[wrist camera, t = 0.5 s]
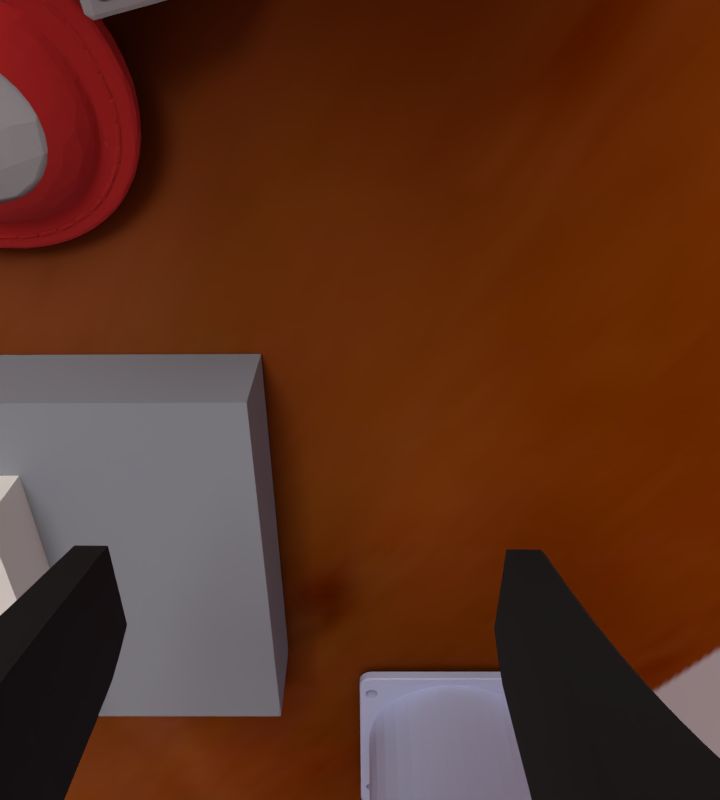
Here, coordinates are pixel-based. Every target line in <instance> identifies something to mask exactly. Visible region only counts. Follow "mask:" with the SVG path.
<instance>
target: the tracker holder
mask: <svg viewBox="0 0 720 800" xmlns="http://www.w3.org/2000/svg"><path fill="white" fill-rule="evenodd" d="M163 1H166V0H0V248H28V249H29V248H36V247H43V246H50V245H54V244H58V243H62V242H66V241H69V240H72V239H75V238H77V237H79V236H81V235H83V234H85V233H87V232H89V231H90V230H92V229H94V228H95V227H97V226H98V225H100V224H101V223H102V222H103V221H105V220H106V219H107V218H108V217H109V216H110V215H111V214H113V213H114V212H115V211H116V209H117V208H118V207H119V205H120V204H121V203H122V201H123V199H124V198H125V196H126V194H127V193H128V191H129V188H130V186H131V184H132V181H133V179H134V177H135V173H136V170H137V166H138V162H139V158H140V148H141V121H140V112H139V105H138V99H137V95H136V91H135V87H134V83H133V80H132V77H131V75H130V72H129V70H128V68H127V65H126V63H125V60H124V58H123V56H122V54H121V52H120V50H119V48H118V46H117V44H116V42H115V40H114V38H113V36H112V35H111V33H110V32H109V31H108V29H107V28H106V26H105V25H104V23H103V19H104V18H105V17H108V16H112V15H115V14H119V13H123V12H126V11H130V10H133V9H137V8H141V7H144V6H148V5H152V4H155V3H159V2H163Z"/></svg>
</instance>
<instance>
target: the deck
mask: <svg viewBox="0 0 720 800" xmlns="http://www.w3.org/2000/svg"><path fill="white" fill-rule="evenodd" d="M0 476H19V477H20V480H21V483H22V486H23V489H24V492H25V495H26V498H27V501H28V504H29V507H30V510H31V513H32V516H33V519H34V522H35V525H36V528H37V531H38V534H39V537H40V540H41V543H42V546H43V549H44V552H45V555H46V558H47V561H48V564H49V567H50V568H51V567H52V566H53V565H54V564H55V563H56V562H57V561H58V560H59V559H60V558H62V557H63V556H64V555H65V554H66V553H67V552H68V551H69V550H70V549H71V548H72V547H73V546H74V545H79V546H108V548H109V552H110V556H111V561H112V565H113V569H114V573H115V577H116V581H117V585H118V589H119V593H120V598H121V602H122V606H123V610H124V614H125V618H126V622H127V628H126V632H125V635H124V639H123V643H122V647H121V651H120V655H119V659H118V662H117V666H116V669H115V673H114V676H113V680H112V682H111V685H110V687H109V690H108V693H107V695H106V698H105V700H104V703H103V705H102V708H101V710H100V713H99V715H98V716H281V710H282V702H283V693H284V685H285V676H286V668H287V659H288V641H287V630H286V619H285V608H284V597H283V587H282V576H281V565H280V554H279V543H278V532H277V522H276V511H275V500H274V489H273V478H272V468H271V457H270V446H269V435H268V424H267V413H266V403H265V392H264V381H263V370H262V359H261V354H127V355H0Z"/></svg>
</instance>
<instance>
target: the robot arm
mask: <svg viewBox="0 0 720 800" xmlns="http://www.w3.org/2000/svg"><path fill="white" fill-rule="evenodd" d="M126 628H127V622H126V618H125V614H124V610H123V606H122V602H121V598H120V593H119V589H118V585H117V581H116V577H115V573H114V569H113V565H112V561H111V556H110V552H109V548H108V546H79V545H74V546H73V547H72V548H71V549H70V550H69V551H68V552H67V553H66V554H65V555H64V556H63V557H62V558H60V559H59V560H58V561H57V562H56V563H55V564H54V565H53V566H52V567H51V568H50V569H49V570H48V571H47V572H46V573H45V574H44V575H43V576H41V577H40V578H39V579H38V580H37V581H36V582H35V583H34V584H33V585H32V586H31V587H30V588H29V589H28V590H27V591H26V592H25V593H24V594H23V595H22V596H21V597H20V598H18V599H17V600H16V601H15V602H14V603H13V604H12V605H11V606H10V607H9V608H8V609H7V610H6V611H5V612H4V613H2V614H1V615H0V800H64V799H65V796H66V794H67V791H68V789H69V786H70V784H71V781H72V779H73V777H74V774H75V772H76V769H77V767H78V764H79V762H80V759H81V757H82V754H83V752H84V750H85V747H86V745H87V742H88V740H89V737H90V735H91V732H92V730H93V728H94V725H95V723H96V720H97V718H98V715H99V713H100V710H101V708H102V705H103V703H104V700H105V698H106V695H107V693H108V690H109V687H110V685H111V682H112V680H113V676H114V673H115V669H116V666H117V662H118V659H119V655H120V651H121V647H122V643H123V639H124V635H125V632H126ZM495 636H496V644H497V652H498V659H499V666H500V672H366V673H364V674H363V675H362V676H361V677H360V748H361V798H362V800H720V758H719V757H718V756H716V755H715V754H714V753H713V752H712V751H711V750H710V749H709V748H708V747H707V746H706V745H705V744H704V743H703V742H702V741H701V740H700V739H699V738H698V737H697V736H696V735H695V734H694V733H692V731H691V730H690V729H688V728H687V726H685V725H684V724H683V723H682V722H681V721H680V720H679V719H678V718H677V716H676V715H675V714H674V713H673V712H672V711H671V710H670V709H669V708H668V707H667V706H666V705H665V704H664V703H663V702H662V701H661V700H660V699H659V698H658V696H657V695H656V694H655V693H654V692H653V691H652V690H651V689H650V688H649V687H648V685H647V684H646V683H645V682H644V681H643V680H642V679H641V678H640V676H639V675H638V674H637V673H636V672H635V671H634V670H633V669H632V667H631V666H630V665H629V664H628V663H627V662H626V660H625V659H624V658H623V657H622V656H621V654H620V653H619V652H618V651H617V650H616V648H615V647H614V646H613V645H612V643H611V642H610V641H609V640H608V638H607V637H606V636H605V635H604V634H603V632H602V631H601V630H600V629H599V627H598V626H597V625H596V624H595V622H594V621H593V620H592V618H591V617H590V616H589V615H588V613H587V612H586V611H585V609H584V608H583V607H582V605H581V604H580V603H579V601H578V600H577V599H576V597H575V596H574V595H573V593H572V592H571V590H570V589H569V588H568V586H567V585H566V584H565V582H564V581H563V579H562V578H561V577H560V575H559V574H558V572H557V571H556V569H555V568H554V567H553V565H552V564H551V562H550V561H549V559H548V558H547V556H546V555H545V554H544V553H543V552H542V551H541V550H506V556H505V563H504V570H503V576H502V583H501V589H500V596H499V602H498V609H497V615H496V622H495Z"/></svg>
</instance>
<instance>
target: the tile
mask: <svg viewBox="0 0 720 800" xmlns="http://www.w3.org/2000/svg"><path fill="white" fill-rule="evenodd" d="M49 569H50V567H49V564H48V561H47V558H46V555H45V552H44V549H43V546H42V543H41V540H40V537H39V534H38V531H37V528H36V525H35V522H34V519H33V516H32V513H31V510H30V507H29V504H28V501H27V498H26V495H25V492H24V489H23V486H22V483H21V480H20V477H19V476H0V615H1V614H2V613H4V612H5V611H6V610H7V609H8V608H9V607H10V606H11V605H12V604H13V603H14V602H15V601H16V600H17V599H18V598H20V597H21V596H22V595H23V594H24V593H25V592H26V591H27V590H28V589H29V588H30V587H31V586H32V585H33V584H34V583H35V582H36V581H37V580H38V579H39V578H40V577H41V576H43V575H44V574H45V573H46V572H47V571H48V570H49Z"/></svg>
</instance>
